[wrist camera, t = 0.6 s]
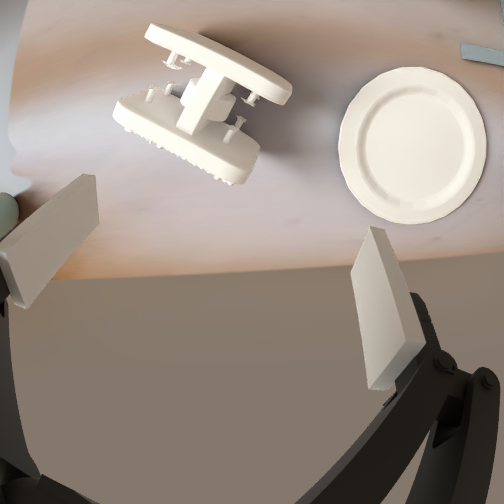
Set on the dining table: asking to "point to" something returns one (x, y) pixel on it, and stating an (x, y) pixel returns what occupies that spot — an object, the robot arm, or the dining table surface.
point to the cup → (7, 213)
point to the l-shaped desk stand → (483, 51)
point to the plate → (412, 145)
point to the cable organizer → (202, 105)
